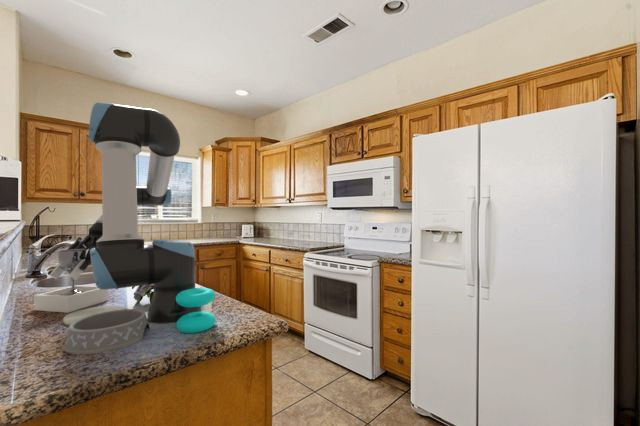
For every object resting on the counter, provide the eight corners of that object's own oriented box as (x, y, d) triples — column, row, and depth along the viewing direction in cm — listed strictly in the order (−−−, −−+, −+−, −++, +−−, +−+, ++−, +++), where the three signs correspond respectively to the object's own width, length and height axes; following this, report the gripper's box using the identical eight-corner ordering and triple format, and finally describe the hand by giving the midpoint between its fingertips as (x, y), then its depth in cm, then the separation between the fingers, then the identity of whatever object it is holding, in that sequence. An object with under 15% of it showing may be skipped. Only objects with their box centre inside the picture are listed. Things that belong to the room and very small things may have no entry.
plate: (134, 310, 102) (134, 306, 102) (91, 327, 87) (91, 323, 87) (97, 308, 105) (97, 304, 105) (50, 323, 91) (49, 319, 91)
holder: (108, 300, 115) (107, 286, 115) (68, 312, 101) (68, 297, 101) (77, 298, 118) (77, 285, 118) (34, 310, 104) (34, 295, 104)
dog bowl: (49, 360, 68) (48, 336, 68) (86, 330, 86) (86, 310, 86) (136, 349, 73) (136, 326, 73) (155, 323, 90) (155, 304, 90)
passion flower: (138, 320, 108) (126, 290, 112) (170, 307, 116) (158, 279, 119) (142, 308, 101) (129, 276, 104) (176, 295, 108) (163, 266, 112)
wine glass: (52, 294, 107) (51, 251, 107) (76, 289, 115) (75, 248, 115) (69, 296, 105) (68, 251, 105) (92, 290, 113) (91, 248, 113)
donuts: (215, 285, 92) (213, 294, 82) (216, 319, 92) (214, 332, 82) (179, 288, 89) (172, 297, 79) (179, 323, 89) (173, 336, 79)
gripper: (132, 234, 123) (94, 284, 107) (90, 234, 127) (48, 282, 112) (120, 220, 117) (78, 271, 102) (76, 221, 122) (31, 270, 107)
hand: (62, 277), depth 107 cm, fingers closed on wine glass, 8 cm apart
